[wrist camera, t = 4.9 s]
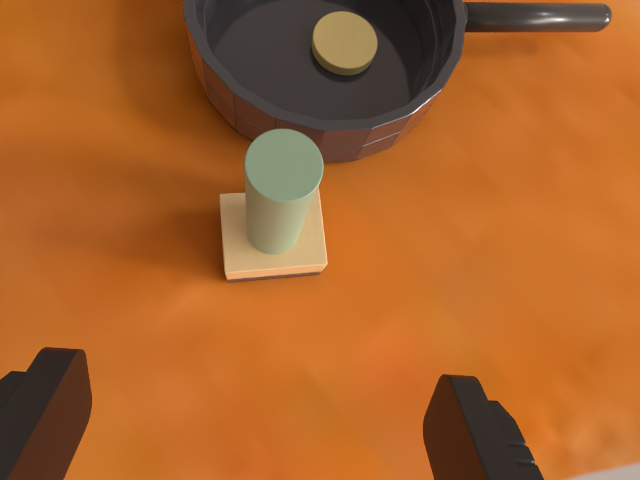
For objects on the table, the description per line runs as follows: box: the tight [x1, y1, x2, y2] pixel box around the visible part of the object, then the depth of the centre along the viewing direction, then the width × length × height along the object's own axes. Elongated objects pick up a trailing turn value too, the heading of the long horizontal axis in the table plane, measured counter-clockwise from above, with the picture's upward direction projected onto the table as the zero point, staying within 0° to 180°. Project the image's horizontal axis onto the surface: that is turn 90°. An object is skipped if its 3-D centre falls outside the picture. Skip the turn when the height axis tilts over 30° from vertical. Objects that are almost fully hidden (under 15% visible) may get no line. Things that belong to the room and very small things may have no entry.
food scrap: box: [311, 11, 378, 76], centre depth 28 cm, size 4×4×1 cm
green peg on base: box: [219, 129, 328, 283], centre depth 20 cm, size 5×4×11 cm
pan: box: [183, 0, 466, 163], centre depth 27 cm, size 15×15×4 cm
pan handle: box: [463, 2, 612, 32], centre depth 28 cm, size 11×2×2 cm, turn 96°
